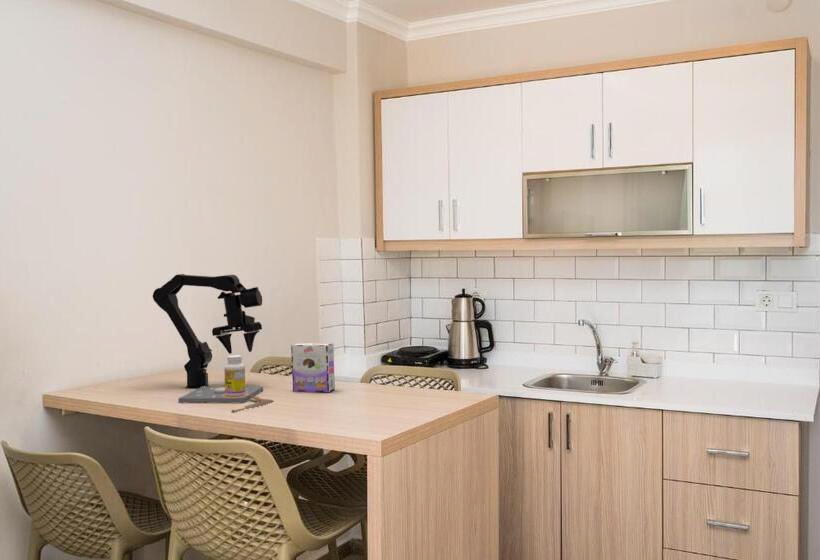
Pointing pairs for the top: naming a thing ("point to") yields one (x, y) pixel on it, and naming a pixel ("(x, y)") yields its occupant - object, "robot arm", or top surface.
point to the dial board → (218, 395)
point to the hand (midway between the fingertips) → (240, 352)
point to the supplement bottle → (234, 376)
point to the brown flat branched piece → (259, 403)
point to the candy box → (313, 367)
